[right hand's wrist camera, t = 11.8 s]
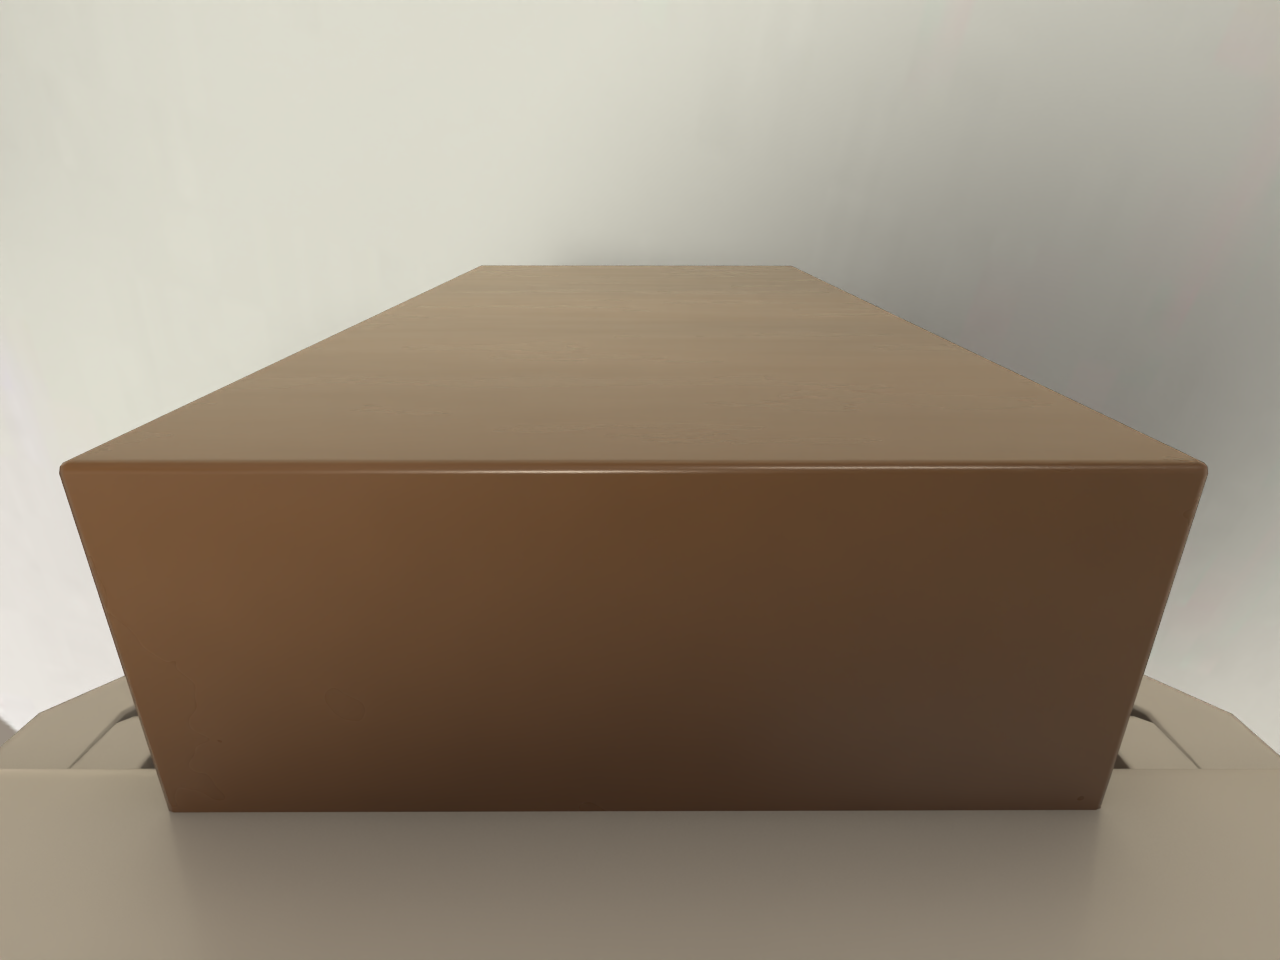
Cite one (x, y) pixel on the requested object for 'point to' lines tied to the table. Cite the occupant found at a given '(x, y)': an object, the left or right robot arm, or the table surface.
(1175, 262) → the table surface
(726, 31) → the table surface
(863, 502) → the box
